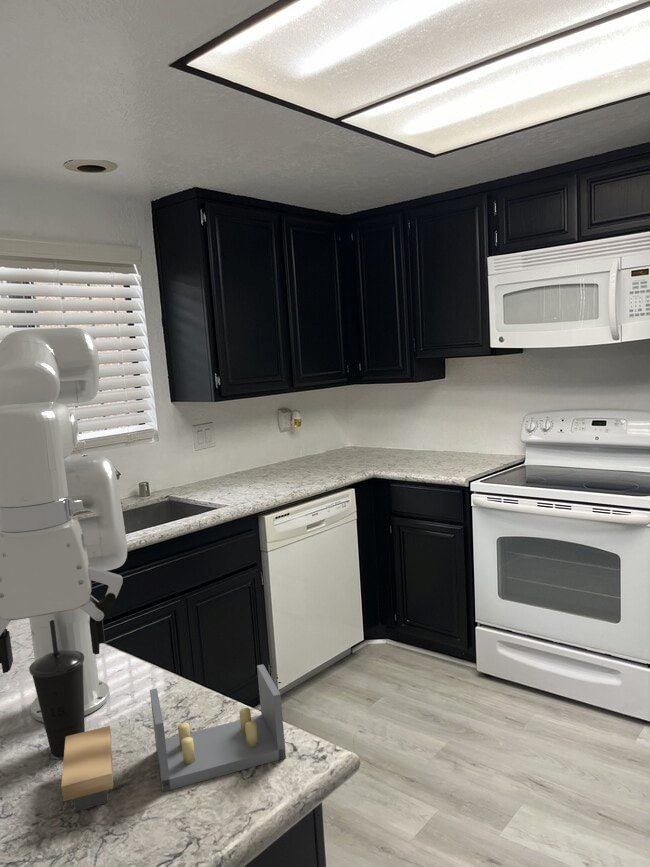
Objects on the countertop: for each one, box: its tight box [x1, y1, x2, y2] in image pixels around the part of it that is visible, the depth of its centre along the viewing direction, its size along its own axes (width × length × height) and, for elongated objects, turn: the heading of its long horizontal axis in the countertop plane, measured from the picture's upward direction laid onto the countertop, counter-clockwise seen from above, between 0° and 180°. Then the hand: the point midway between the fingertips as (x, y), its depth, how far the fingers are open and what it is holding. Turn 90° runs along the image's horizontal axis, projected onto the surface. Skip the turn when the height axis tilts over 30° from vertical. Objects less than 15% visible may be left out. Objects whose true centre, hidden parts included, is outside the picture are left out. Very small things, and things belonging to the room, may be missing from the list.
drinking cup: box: [28, 620, 86, 758], centre depth 97 cm, size 8×8×20 cm
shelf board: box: [60, 725, 114, 802], centre depth 88 cm, size 12×6×2 cm, turn 19°
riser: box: [73, 790, 108, 812], centre depth 88 cm, size 8×4×3 cm, turn 19°
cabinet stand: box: [149, 663, 287, 793], centre depth 93 cm, size 10×17×10 cm, turn 109°
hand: (53, 658), depth 76 cm, fingers open, 9 cm apart
